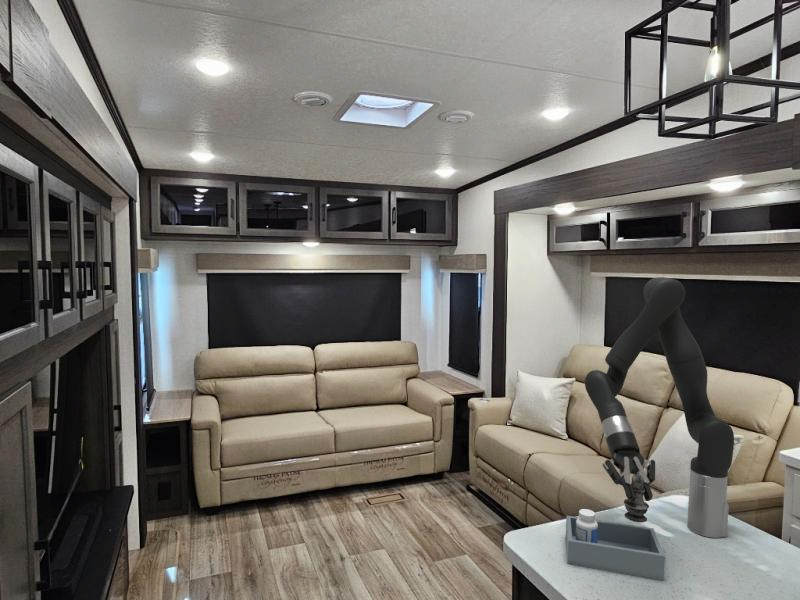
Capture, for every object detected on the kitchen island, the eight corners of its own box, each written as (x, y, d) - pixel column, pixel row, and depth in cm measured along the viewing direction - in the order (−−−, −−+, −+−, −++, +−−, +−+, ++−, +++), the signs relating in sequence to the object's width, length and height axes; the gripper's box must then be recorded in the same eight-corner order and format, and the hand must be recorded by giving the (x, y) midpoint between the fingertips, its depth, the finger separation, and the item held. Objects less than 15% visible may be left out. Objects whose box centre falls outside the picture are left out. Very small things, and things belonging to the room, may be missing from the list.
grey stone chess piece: (646, 514, 131) (649, 468, 131) (650, 524, 126) (652, 477, 125) (622, 510, 133) (624, 465, 132) (624, 520, 128) (626, 474, 127)
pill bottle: (593, 543, 136) (595, 508, 135) (599, 554, 130) (601, 518, 130) (572, 542, 136) (574, 507, 136) (578, 553, 131) (579, 516, 130)
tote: (652, 550, 135) (653, 528, 135) (663, 580, 122) (665, 556, 121) (565, 536, 141) (566, 515, 141) (567, 563, 128) (568, 540, 127)
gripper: (599, 429, 135) (619, 494, 124) (650, 430, 136) (675, 494, 125) (589, 442, 141) (608, 505, 129) (638, 442, 142) (661, 505, 130)
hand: (641, 499), depth 127 cm, fingers closed on grey stone chess piece, 3 cm apart
